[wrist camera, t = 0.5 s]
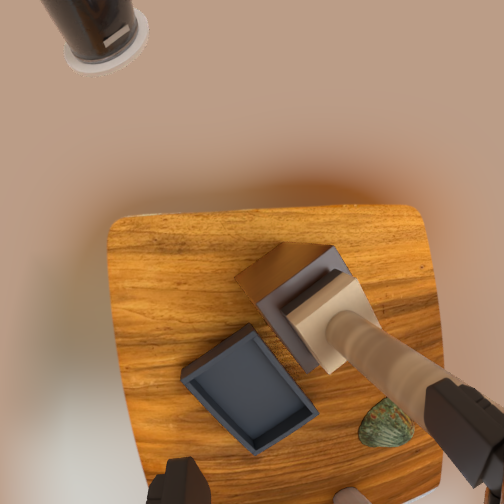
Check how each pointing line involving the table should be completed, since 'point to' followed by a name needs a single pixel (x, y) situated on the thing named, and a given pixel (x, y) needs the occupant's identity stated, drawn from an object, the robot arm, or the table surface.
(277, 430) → the tray
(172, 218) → the table surface
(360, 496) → the cup
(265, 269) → the stand
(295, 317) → the wooden peg on base
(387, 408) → the seashell
